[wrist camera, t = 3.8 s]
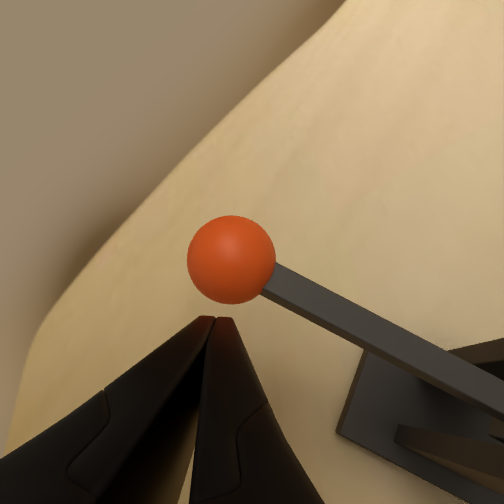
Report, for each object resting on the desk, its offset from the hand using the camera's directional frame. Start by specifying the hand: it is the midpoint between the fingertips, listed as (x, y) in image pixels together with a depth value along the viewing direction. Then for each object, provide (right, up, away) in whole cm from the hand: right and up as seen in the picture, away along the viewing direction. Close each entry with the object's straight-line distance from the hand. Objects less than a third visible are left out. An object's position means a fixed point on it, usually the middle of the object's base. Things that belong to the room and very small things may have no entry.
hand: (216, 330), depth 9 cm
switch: (+6, -2, +5) cm, 8 cm away
